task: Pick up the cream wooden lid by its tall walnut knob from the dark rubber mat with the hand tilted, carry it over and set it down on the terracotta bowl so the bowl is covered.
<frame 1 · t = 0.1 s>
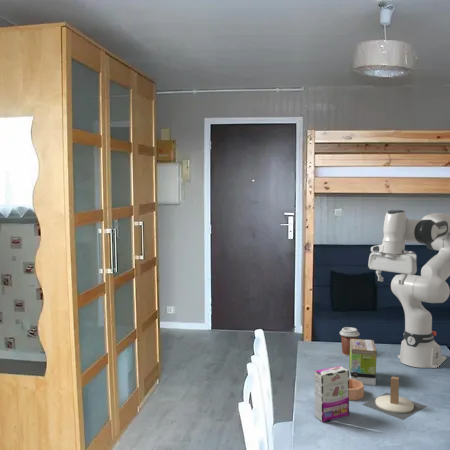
hand: (390, 282, 210), 39 cm above the table, tool pointing down, fingers open, 8 cm apart
bowl: (347, 395, 193), on the table
candy bar box: (331, 417, 175), on the table
coffee cup: (349, 354, 240), on the table
lid: (394, 405, 183), point 1 cm above the table, touching mat
tea box: (362, 379, 209), on the table
mat: (394, 406, 183), on the table
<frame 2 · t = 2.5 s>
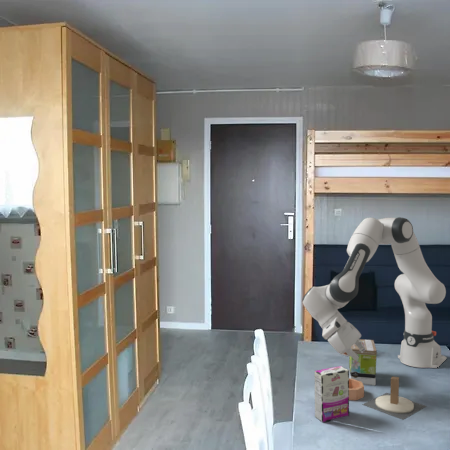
hand: (360, 355, 187), 17 cm above the table, tool tilted 45°, fingers open, 8 cm apart
nothing on the table moved.
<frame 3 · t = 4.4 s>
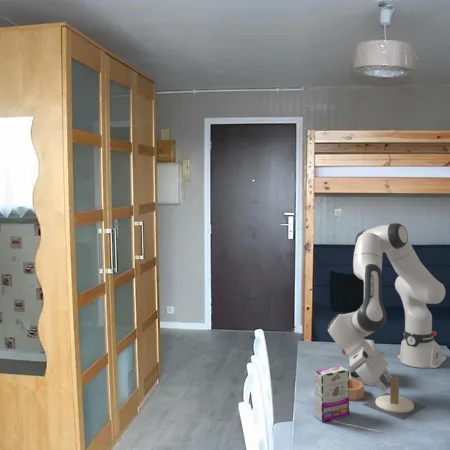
hand: (388, 385, 183), 8 cm above the table, tool tilted 45°, fingers open, 8 cm apart
nothing on the table moved.
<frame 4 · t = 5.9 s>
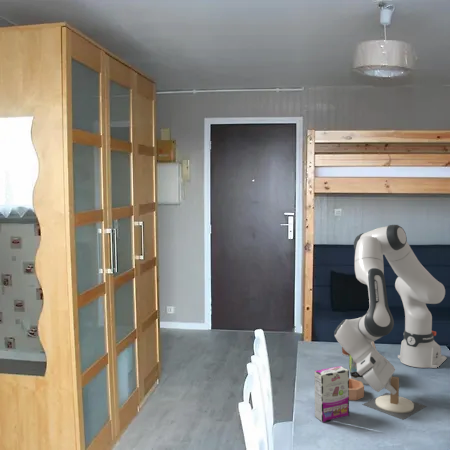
hand: (396, 391, 182), 6 cm above the table, tool tilted 45°, fingers closed on lid, 2 cm apart
lid: (394, 405, 183), point 1 cm above the table, touching gripper, mat
everything else where it was.
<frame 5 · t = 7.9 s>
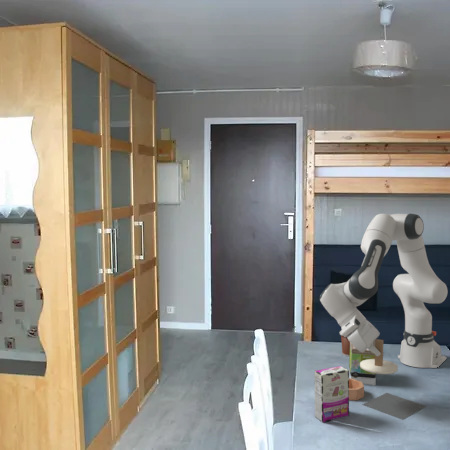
hand: (380, 353, 184), 19 cm above the table, tool tilted 45°, fingers closed on lid, 2 cm apart
lid: (378, 367, 184), point 13 cm above the table, touching gripper
everything else where it was.
when the fingers open (11 cm above the table, at t = 10.1 s): lid drops 2 cm, resting on bowl.
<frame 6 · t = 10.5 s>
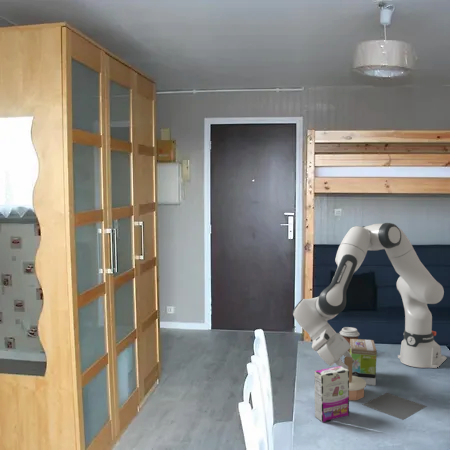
hand: (349, 366, 192), 11 cm above the table, tool tilted 45°, fingers open, 7 cm apart
lid: (348, 383, 193), point 4 cm above the table, touching bowl
everything else where it was.
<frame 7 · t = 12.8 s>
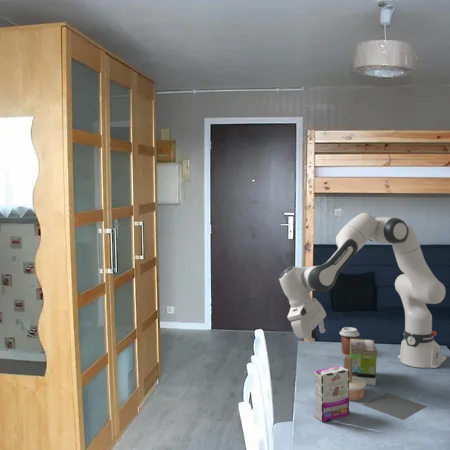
hand: (318, 337, 203), 19 cm above the table, tool tilted 25°, fingers open, 8 cm apart
nothing on the table moved.
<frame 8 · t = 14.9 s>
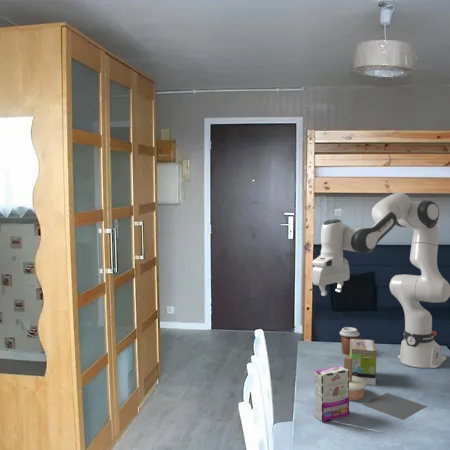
hand: (331, 293, 208), 35 cm above the table, tool pointing down, fingers open, 8 cm apart
nothing on the table moved.
at the end: lid 0.0 cm off-centre on the bowl, point 4.5 cm above the bowl's base; lid tilted 0°; the gripper is holding nothing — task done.
